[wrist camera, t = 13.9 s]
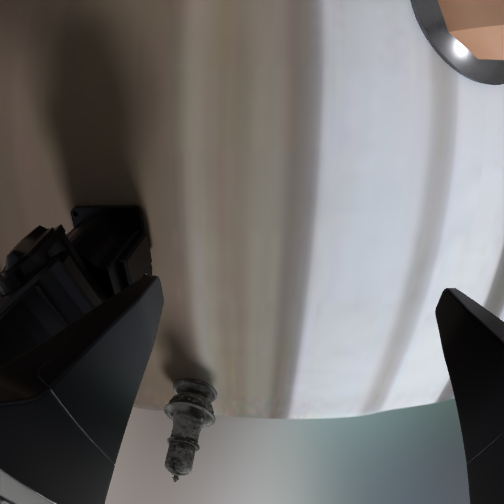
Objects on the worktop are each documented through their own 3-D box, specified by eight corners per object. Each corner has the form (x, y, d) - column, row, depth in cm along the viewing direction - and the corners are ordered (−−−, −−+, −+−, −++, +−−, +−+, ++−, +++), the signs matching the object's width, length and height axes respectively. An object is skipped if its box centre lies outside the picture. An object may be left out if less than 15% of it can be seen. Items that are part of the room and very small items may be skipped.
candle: (409, 61, 15) (443, 59, 11) (403, -68, 10) (429, -92, 6) (522, 101, 15) (561, 113, 11) (519, -14, 9) (553, -19, 5)
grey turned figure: (175, 400, 36) (154, 483, 25) (167, 374, 33) (139, 466, 22) (221, 406, 35) (207, 493, 25) (218, 380, 32) (200, 479, 22)
